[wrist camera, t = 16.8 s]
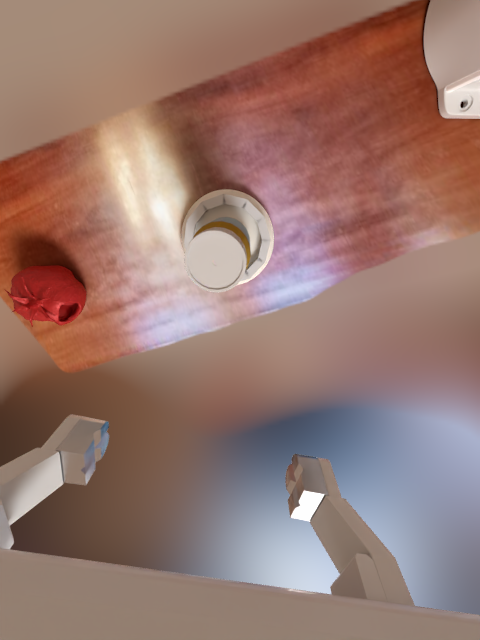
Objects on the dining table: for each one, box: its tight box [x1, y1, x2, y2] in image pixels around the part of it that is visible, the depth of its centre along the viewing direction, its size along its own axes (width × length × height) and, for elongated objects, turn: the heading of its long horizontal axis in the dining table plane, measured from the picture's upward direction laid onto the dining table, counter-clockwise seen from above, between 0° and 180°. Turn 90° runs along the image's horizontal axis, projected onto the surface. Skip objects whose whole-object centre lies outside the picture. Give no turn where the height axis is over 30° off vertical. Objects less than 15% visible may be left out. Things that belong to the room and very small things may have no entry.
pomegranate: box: [5, 265, 86, 327], centre depth 39 cm, size 10×10×9 cm
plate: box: [181, 189, 274, 285], centre depth 38 cm, size 14×14×2 cm
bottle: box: [184, 217, 251, 292], centre depth 32 cm, size 7×7×15 cm
